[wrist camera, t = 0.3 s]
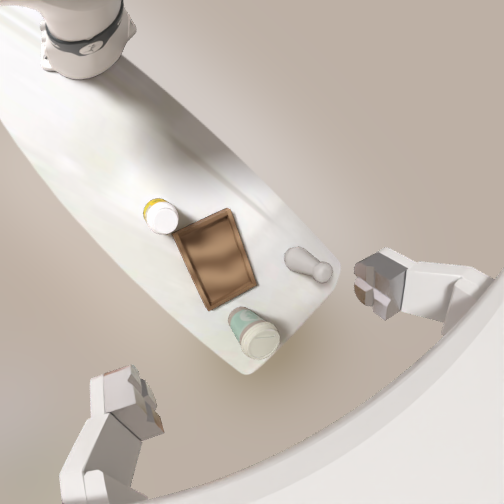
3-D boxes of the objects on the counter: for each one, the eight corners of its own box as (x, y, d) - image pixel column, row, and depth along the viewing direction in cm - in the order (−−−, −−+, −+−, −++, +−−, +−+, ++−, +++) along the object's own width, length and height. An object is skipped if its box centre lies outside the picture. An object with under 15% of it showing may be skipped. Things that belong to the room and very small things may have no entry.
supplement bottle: (175, 203, 52) (187, 210, 44) (165, 230, 53) (175, 243, 44) (148, 193, 49) (155, 199, 41) (138, 221, 50) (144, 233, 42)
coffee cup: (262, 311, 69) (289, 336, 59) (240, 338, 68) (263, 367, 58) (238, 294, 64) (264, 319, 54) (215, 323, 64) (236, 353, 53)
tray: (171, 233, 54) (173, 235, 52) (226, 207, 57) (230, 209, 55) (205, 307, 61) (208, 311, 60) (252, 281, 65) (256, 284, 63)
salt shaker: (302, 262, 70) (338, 281, 59) (283, 271, 68) (317, 292, 57) (299, 240, 68) (336, 256, 57) (278, 249, 66) (314, 268, 55)
